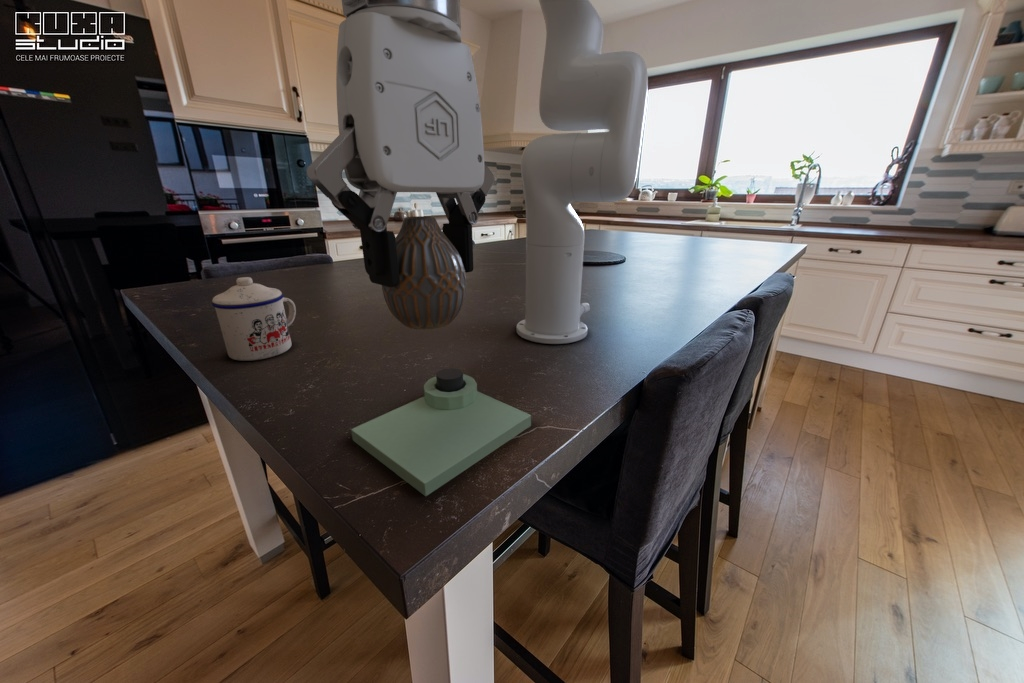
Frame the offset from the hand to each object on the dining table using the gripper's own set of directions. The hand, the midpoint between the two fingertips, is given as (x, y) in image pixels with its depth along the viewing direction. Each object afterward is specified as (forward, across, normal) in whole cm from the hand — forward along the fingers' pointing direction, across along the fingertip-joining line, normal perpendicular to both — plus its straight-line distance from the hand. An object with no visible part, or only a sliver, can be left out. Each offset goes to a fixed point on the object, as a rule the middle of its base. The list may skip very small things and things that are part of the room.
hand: (424, 275), depth 33 cm
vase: (+4, 0, 0) cm, 4 cm away
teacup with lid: (+17, -1, +42) cm, 45 cm away
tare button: (+15, +6, +5) cm, 17 cm away
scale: (+17, +2, +2) cm, 17 cm away
